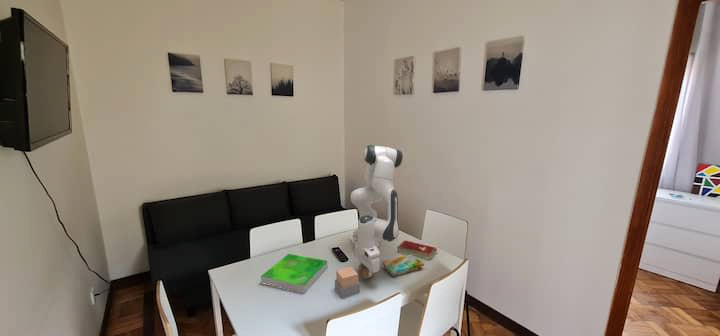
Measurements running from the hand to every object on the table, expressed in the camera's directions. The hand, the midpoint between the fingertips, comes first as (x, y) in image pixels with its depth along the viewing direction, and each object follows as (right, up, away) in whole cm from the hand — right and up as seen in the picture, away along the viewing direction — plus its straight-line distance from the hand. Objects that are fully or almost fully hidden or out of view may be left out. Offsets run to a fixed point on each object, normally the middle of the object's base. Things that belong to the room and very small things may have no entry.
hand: (366, 272), depth 153 cm
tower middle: (-9, -1, -11) cm, 14 cm away
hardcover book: (+32, +1, +29) cm, 43 cm away
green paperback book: (-37, -4, +4) cm, 38 cm away
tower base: (-9, -6, -10) cm, 15 cm away
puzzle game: (+21, -2, +10) cm, 23 cm away
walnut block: (0, -2, 0) cm, 2 cm away
